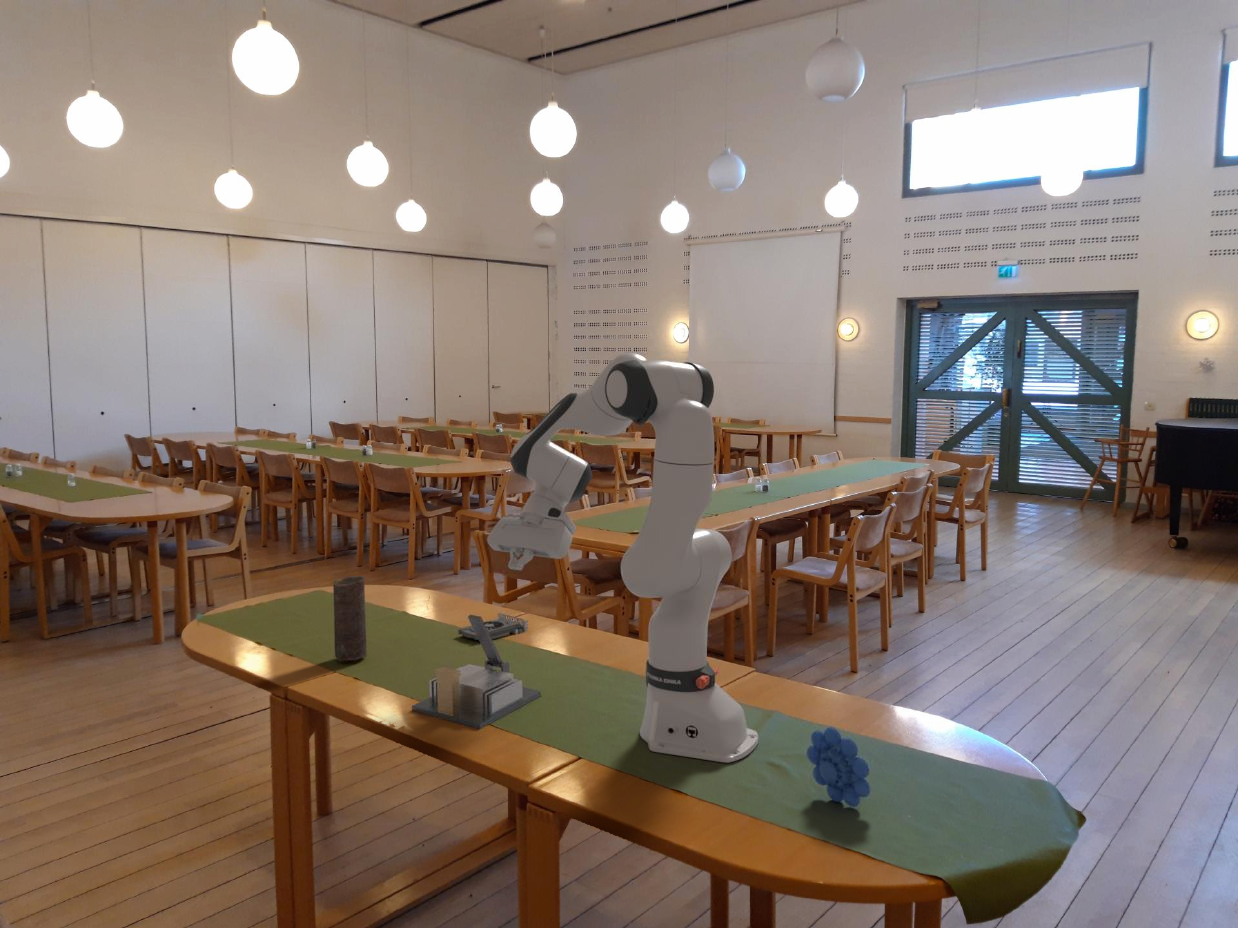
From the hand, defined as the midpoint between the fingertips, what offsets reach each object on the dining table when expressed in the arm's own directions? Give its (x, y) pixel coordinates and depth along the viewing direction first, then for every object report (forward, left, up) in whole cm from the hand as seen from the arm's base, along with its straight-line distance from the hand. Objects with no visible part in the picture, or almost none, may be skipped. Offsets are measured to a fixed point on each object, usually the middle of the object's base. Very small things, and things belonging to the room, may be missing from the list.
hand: (514, 568), depth 192 cm
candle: (+44, +7, -26) cm, 52 cm away
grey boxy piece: (0, +12, -26) cm, 29 cm away
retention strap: (0, +10, -14) cm, 18 cm away
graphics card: (+29, -26, -27) cm, 48 cm away
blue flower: (-77, +16, -26) cm, 83 cm away
